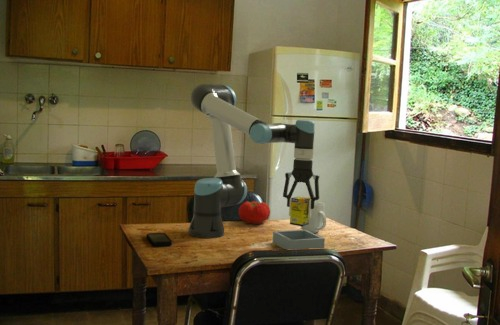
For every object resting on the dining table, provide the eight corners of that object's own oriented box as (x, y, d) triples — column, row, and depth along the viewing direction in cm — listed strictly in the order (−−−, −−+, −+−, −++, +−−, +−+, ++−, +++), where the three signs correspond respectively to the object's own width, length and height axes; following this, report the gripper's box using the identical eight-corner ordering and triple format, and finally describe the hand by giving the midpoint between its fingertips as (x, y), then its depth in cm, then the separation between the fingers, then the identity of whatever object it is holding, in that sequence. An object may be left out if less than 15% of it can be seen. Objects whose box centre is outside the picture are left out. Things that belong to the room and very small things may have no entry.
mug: (333, 235, 245) (335, 206, 243) (314, 237, 239) (316, 207, 237) (312, 227, 257) (313, 200, 256) (293, 229, 251) (295, 201, 249)
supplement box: (302, 226, 218) (304, 199, 217) (289, 224, 221) (290, 197, 220) (309, 224, 223) (310, 197, 222) (296, 222, 226) (297, 195, 225)
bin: (290, 252, 213) (291, 240, 212) (272, 242, 227) (273, 231, 226) (323, 249, 219) (324, 238, 219) (304, 240, 233) (305, 229, 232)
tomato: (273, 221, 267) (275, 201, 266) (260, 227, 252) (261, 206, 251) (247, 217, 273) (248, 197, 271) (232, 223, 258) (233, 202, 257)
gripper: (276, 158, 218) (273, 215, 220) (327, 161, 213) (323, 220, 215) (280, 156, 225) (277, 211, 228) (329, 160, 220) (325, 216, 223)
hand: (299, 215), depth 221 cm, fingers closed on supplement box, 7 cm apart
